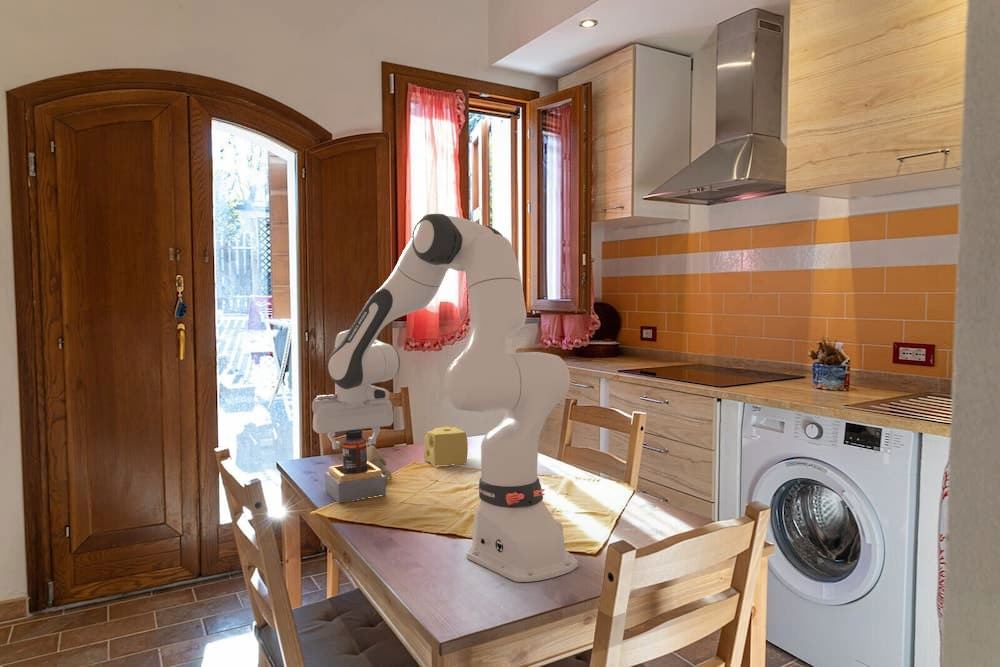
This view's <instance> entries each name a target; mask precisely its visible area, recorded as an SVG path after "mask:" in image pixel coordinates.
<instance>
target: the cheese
mask: <svg viewBox="0 0 1000 667" xmlns="http://www.w3.org/2000/svg"><path fill="white" fill-rule="evenodd" d="M423 441H424V442H423V444H424V450H423V459H424V461H425V460H426V461H428V462H430V463H431V464H433V465H435V466H437V465H452V464H459V465H465V464H464V463H466V464H467V460H468V451H469V450H468V445H469V443H468V437H467V433H466V431H464V430H462V429H460V428H457V427H456V426H441V427H440V426H439V427H435V428H434V429H432V430H428V431H427V432H426V435H424V439H423ZM426 461H425V462H426ZM428 462H427V463H428ZM430 463H429V464H430ZM431 464H430V465H431Z"/></svg>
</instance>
